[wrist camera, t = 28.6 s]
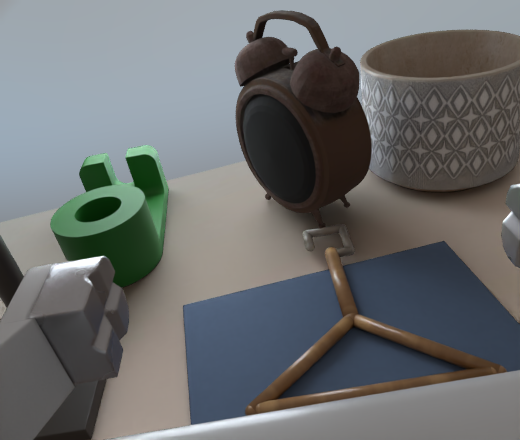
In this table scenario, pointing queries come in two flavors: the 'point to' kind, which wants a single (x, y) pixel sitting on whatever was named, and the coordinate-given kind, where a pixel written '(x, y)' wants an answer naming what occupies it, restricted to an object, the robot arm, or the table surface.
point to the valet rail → (83, 395)
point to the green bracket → (117, 215)
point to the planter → (443, 108)
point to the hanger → (352, 319)
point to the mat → (353, 342)
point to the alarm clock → (301, 119)
